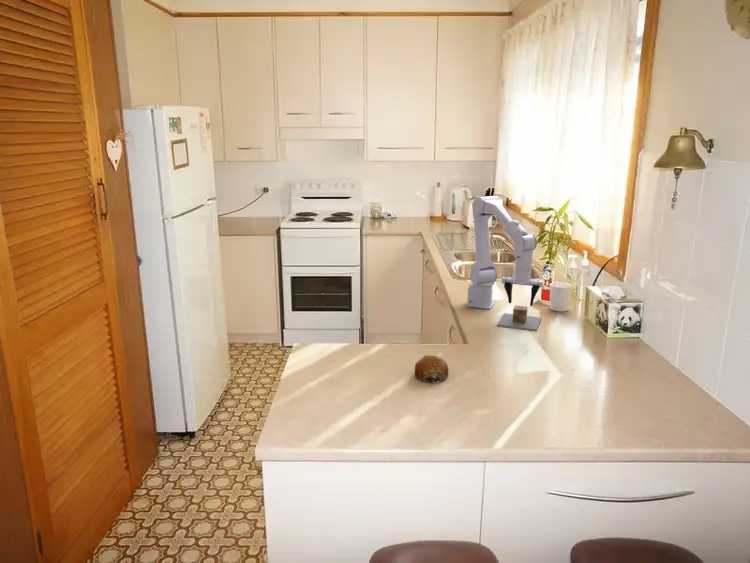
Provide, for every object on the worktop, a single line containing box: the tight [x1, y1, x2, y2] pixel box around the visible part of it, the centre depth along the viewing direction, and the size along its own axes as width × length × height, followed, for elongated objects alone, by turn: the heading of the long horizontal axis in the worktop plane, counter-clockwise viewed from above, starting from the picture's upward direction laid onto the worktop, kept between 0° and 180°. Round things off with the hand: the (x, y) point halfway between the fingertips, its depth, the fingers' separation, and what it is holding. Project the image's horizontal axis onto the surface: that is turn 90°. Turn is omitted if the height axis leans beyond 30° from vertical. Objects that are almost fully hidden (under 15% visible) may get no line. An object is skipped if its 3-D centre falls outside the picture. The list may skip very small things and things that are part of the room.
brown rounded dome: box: [414, 354, 449, 383], centre depth 164 cm, size 10×10×8 cm
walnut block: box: [512, 305, 528, 323], centre depth 208 cm, size 4×4×5 cm
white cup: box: [549, 281, 572, 312], centre depth 223 cm, size 8×8×10 cm
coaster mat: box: [496, 312, 542, 332], centre depth 209 cm, size 14×14×1 cm
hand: (520, 303), depth 207 cm, fingers open, 7 cm apart
